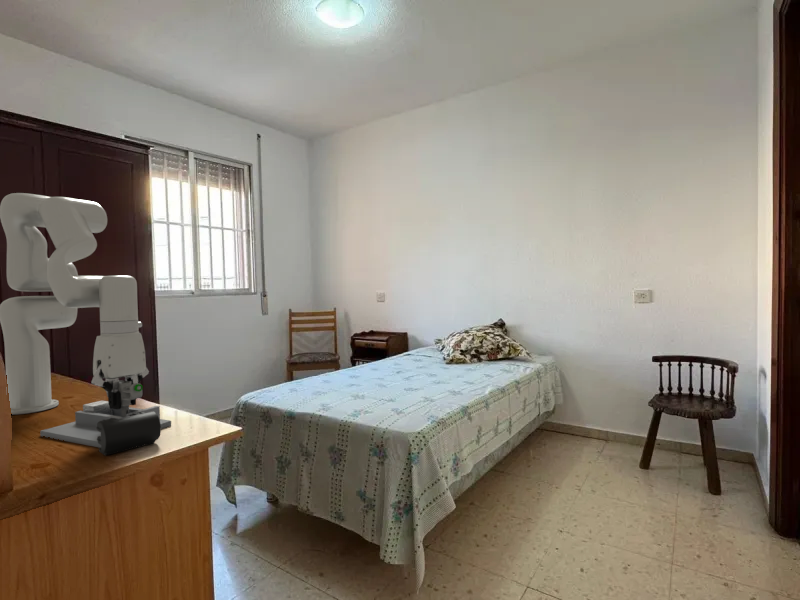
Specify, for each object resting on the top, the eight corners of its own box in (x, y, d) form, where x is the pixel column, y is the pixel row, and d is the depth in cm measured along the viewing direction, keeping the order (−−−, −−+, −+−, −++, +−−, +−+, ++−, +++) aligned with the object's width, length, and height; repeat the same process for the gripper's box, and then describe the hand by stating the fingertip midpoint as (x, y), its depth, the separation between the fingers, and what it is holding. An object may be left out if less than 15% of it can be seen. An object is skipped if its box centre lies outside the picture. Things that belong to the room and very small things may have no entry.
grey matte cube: (83, 421, 106) (82, 404, 106) (102, 416, 110) (101, 400, 110) (94, 423, 104) (93, 406, 104) (112, 417, 108) (112, 401, 108)
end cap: (106, 460, 85) (105, 425, 84) (95, 452, 89) (94, 418, 89) (161, 445, 92) (160, 413, 92) (148, 438, 97) (147, 408, 97)
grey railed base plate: (40, 436, 100) (39, 413, 99) (111, 416, 114) (110, 396, 114) (103, 448, 91) (102, 423, 91) (171, 425, 106) (170, 404, 105)
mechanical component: (134, 428, 100) (133, 384, 99) (104, 424, 104) (102, 382, 103) (146, 424, 103) (145, 382, 102) (116, 420, 106) (115, 379, 106)
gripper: (141, 325, 112) (144, 397, 112) (72, 331, 97) (75, 414, 97) (162, 325, 109) (164, 399, 109) (94, 332, 94) (97, 417, 94)
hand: (122, 405), depth 103 cm, fingers closed on mechanical component, 3 cm apart
